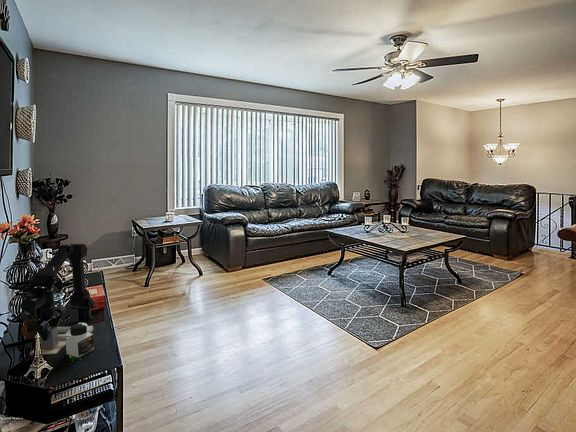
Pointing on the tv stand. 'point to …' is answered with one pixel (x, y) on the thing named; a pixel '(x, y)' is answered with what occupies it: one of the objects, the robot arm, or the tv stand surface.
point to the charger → (50, 339)
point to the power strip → (68, 332)
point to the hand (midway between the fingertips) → (48, 337)
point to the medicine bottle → (79, 340)
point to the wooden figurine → (28, 334)
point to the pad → (52, 351)
